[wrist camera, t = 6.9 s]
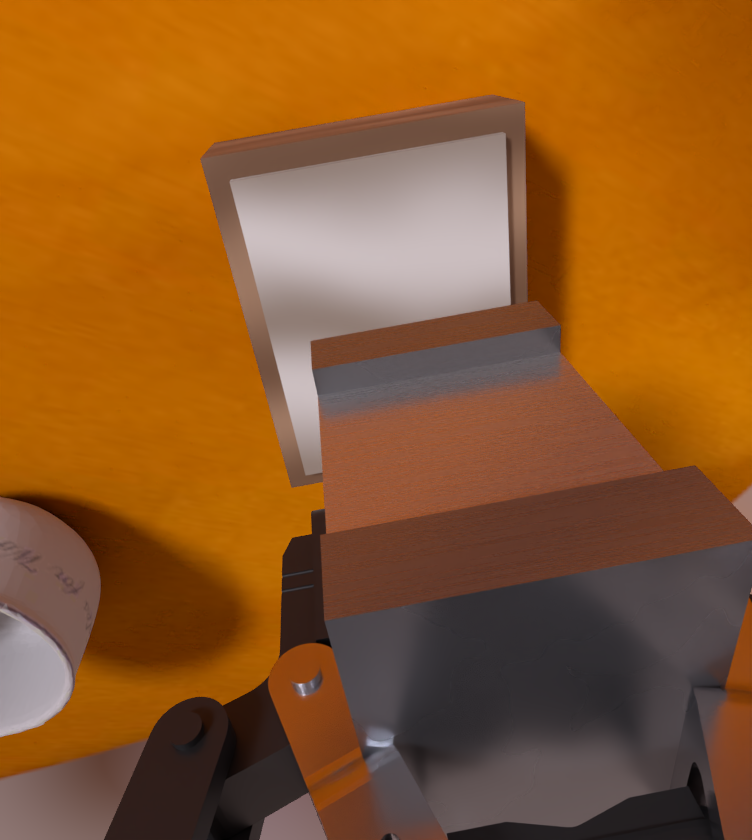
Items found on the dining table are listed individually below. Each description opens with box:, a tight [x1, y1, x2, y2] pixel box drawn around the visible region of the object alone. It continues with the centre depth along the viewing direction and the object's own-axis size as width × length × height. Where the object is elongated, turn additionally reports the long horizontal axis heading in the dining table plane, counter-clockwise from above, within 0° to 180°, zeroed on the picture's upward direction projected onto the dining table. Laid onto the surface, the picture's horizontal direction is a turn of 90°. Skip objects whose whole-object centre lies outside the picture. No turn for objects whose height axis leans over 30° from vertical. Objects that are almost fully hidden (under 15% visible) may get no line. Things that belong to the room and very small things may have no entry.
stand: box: [201, 95, 528, 487], centre depth 26 cm, size 14×11×4 cm
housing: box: [310, 300, 752, 839], centre depth 12 cm, size 8×5×8 cm, turn 8°
